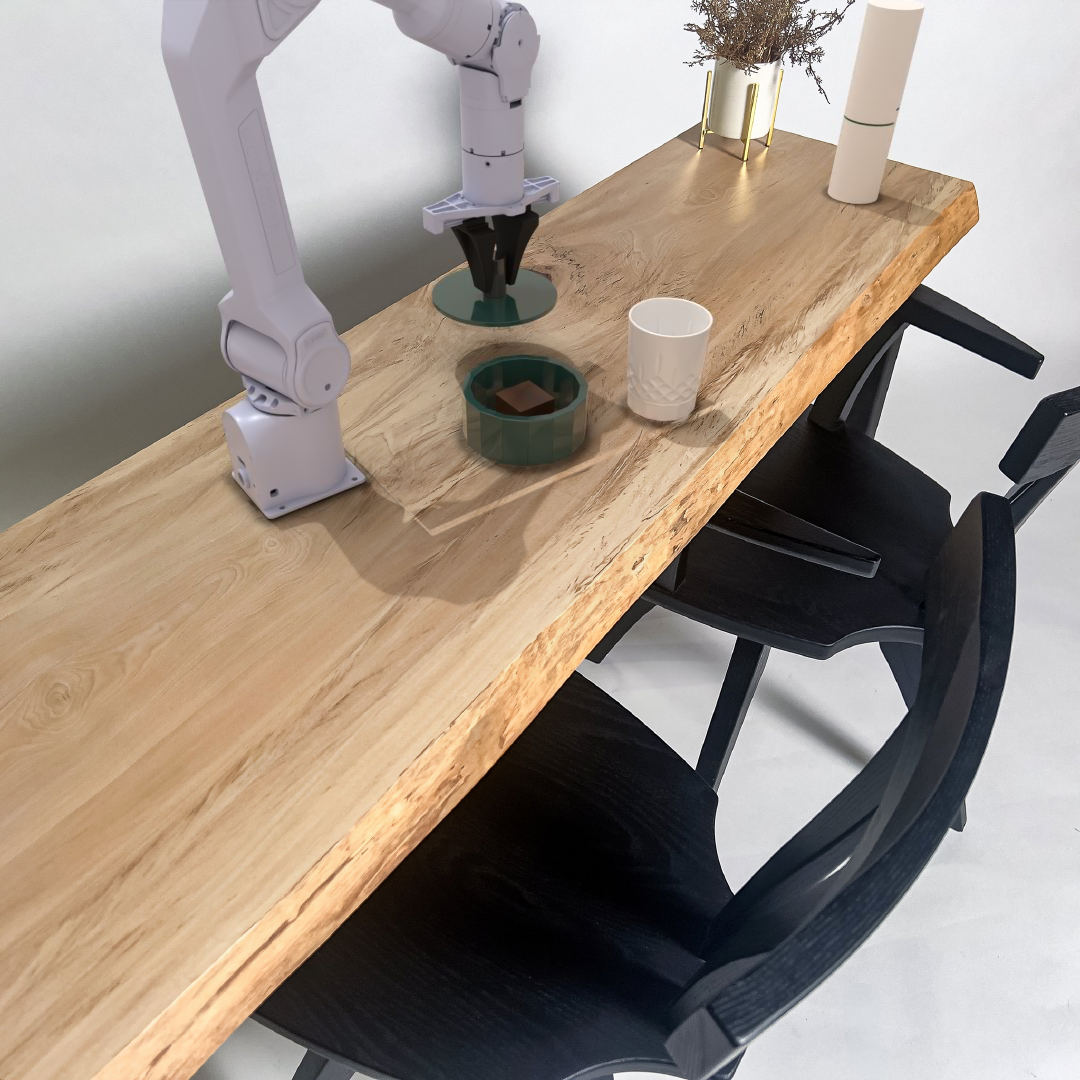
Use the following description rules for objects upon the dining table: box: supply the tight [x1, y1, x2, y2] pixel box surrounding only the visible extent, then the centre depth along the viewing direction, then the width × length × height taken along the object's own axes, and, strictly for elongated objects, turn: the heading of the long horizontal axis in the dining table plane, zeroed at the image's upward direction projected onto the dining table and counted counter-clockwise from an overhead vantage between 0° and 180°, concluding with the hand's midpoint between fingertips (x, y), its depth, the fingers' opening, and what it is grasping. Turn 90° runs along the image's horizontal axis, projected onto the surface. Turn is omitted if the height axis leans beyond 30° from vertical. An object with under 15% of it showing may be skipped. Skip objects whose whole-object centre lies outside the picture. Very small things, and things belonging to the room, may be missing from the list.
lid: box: [431, 249, 559, 328], centre depth 97 cm, size 13×13×5 cm
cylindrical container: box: [827, 0, 926, 205], centre depth 134 cm, size 7×7×25 cm
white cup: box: [626, 296, 714, 425], centre depth 94 cm, size 8×8×10 cm
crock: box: [460, 353, 589, 467], centre depth 91 cm, size 12×12×5 cm
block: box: [494, 380, 555, 417], centre depth 92 cm, size 4×4×4 cm
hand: (494, 285), depth 97 cm, fingers closed on lid, 2 cm apart
